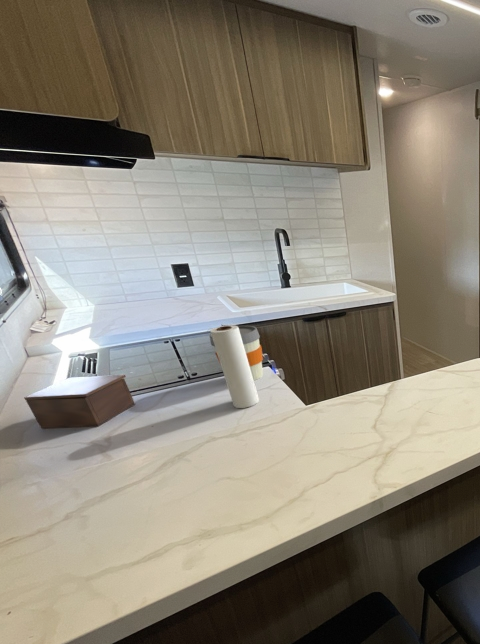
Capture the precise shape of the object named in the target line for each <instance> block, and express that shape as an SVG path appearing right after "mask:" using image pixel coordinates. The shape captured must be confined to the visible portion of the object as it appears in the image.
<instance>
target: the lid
mask: <svg viewBox="0 0 480 644" xmlns="http://www.w3.org/2000/svg"><path fill="white" fill-rule="evenodd" d="M125 378H126V374H111V375H110V374H109V375H93V376H92V375H91V376H73V377H72V376H71V377H68V378H66V379H62V380H61V381H59V382H56V383H54V384H51V385H50V386H47V387H44V388H42V389H40V390H38V391H36V392H33V393H31V394H29V395H26V396H24V400H25V401H26V400H35V399H53V398H72V397H87V396H89V395H91V394H93V393H95V392H97V391H99V390H101V389H103V388H105V387H107V386H109V385H111V384H113V383H115V382H117V381H119V380H121V379H125Z"/></svg>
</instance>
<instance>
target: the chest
mask: <svg viewBox="0 0 480 644" xmlns="http://www.w3.org/2000/svg"><path fill="white" fill-rule="evenodd" d="M25 402H26V403H27V406H28V407H29V409H30V410H31V412H32V414H33V416H34V418H35V420H36V422H37V423H38V425H39V427H40V429H63V428H65V429H66V428H67V429H68V428H91V427H92V428H93V427H100V426H102V425H103V424H105V423H107V422H108V421H110V420H112V419H113V418H115V417H116V416H118V415H120V414H122V413H123V412H126V411H127V410H128V409H130V408H132V407H133V406H135V405H136V403H135V400H134V398H133V396H132V393H131V392H130V389H129V386H128V384H127V381H126V380H125V378H123V379H121V380H119V381H117V382H115V383H113V384H111V385H109V386H107V387H105V388H103V389H101V390H99V391H97V392H95V393H93V394H91V395H89V396H87V397H72V398H53V399H35V400H25Z"/></svg>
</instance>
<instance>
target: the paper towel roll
mask: <svg viewBox="0 0 480 644" xmlns="http://www.w3.org/2000/svg"><path fill="white" fill-rule="evenodd" d="M238 326H239V325H234V324H221V325H220V326H217V327H214V328H212V329H210V330H209V332H210V333H211V335H212V338H213V342H214V345H215V348H216V351H217V354H218V357H219V360H218V362H219V361H220V363H219V364H221V365H220V367H221V369H222V374H223V376H224V379H225V383H226V386H227V389H228V391H229V394H230V398H231V401H232V402H231V403H232V405H233V407H234V408H237V409H244V408H245V409H246V408H250V407H253V406H256V405H257V404H258V403H259V402H260V398H259V394H258V391H257V387H256V383H255V381H254V380H253V377H252V373H251V370H250V366H249V363H248V359H247V356H246V352H245V349H244V345H243V342H242V338H241V335H240V331H239V328H238ZM216 351H215V352H216Z"/></svg>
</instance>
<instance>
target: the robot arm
mask: <svg viewBox="0 0 480 644" xmlns="http://www.w3.org/2000/svg"><path fill="white" fill-rule="evenodd" d="M2 294H3V290H2V288H1V287H0V302H2V301H3V300H4V297H3V296H2Z"/></svg>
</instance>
